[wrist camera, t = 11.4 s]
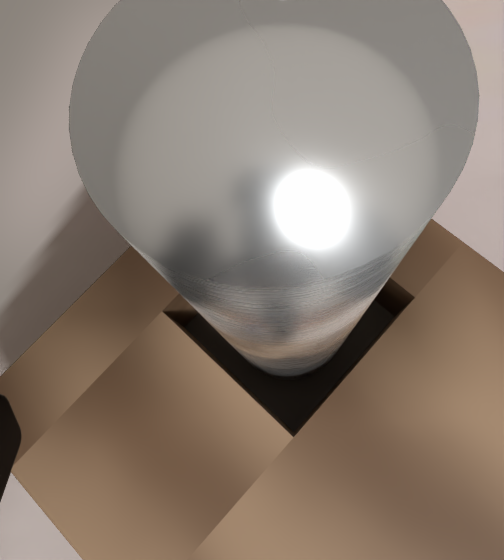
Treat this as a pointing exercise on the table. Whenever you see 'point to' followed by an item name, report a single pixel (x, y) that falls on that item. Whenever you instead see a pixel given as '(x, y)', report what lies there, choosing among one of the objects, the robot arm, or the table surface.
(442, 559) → the pocket board
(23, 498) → the table surface
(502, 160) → the table surface
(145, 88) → the aluminium peg
